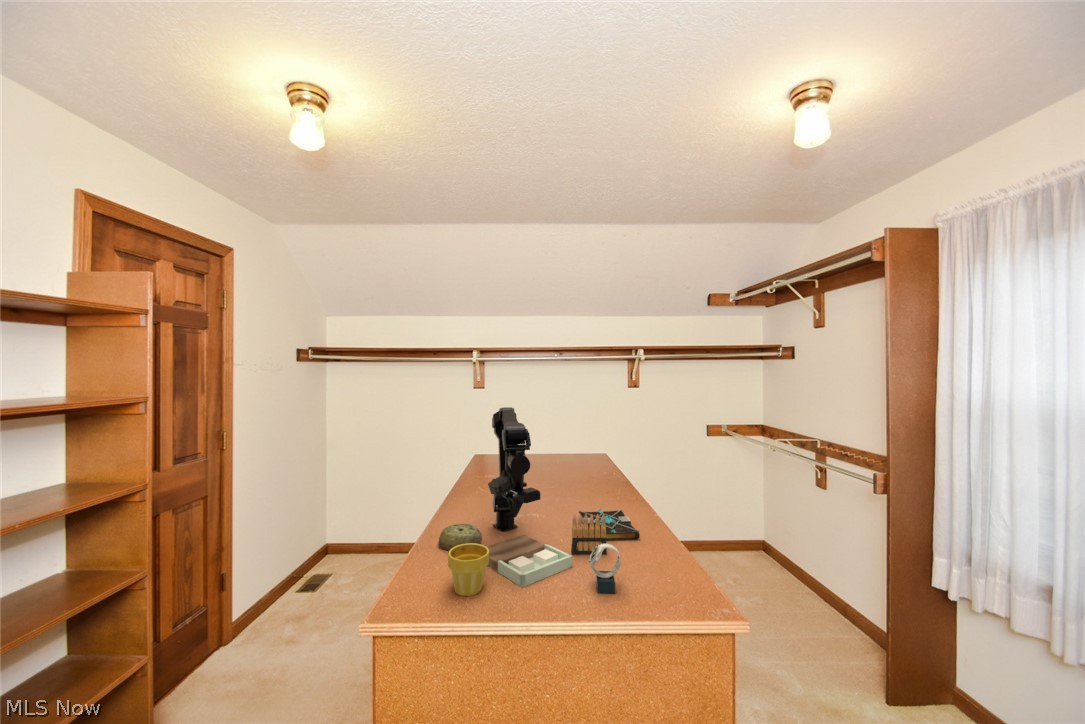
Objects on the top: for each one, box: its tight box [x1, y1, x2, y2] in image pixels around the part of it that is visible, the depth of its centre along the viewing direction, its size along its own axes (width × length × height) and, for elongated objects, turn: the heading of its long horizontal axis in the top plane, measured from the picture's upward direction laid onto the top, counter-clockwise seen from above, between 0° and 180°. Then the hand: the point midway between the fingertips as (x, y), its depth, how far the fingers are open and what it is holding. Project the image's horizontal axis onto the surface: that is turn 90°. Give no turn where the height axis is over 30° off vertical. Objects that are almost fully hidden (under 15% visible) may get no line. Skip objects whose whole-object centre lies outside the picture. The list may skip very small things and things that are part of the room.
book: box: [578, 508, 641, 541], centre depth 153 cm, size 22×17×5 cm
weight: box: [438, 523, 483, 551], centre depth 140 cm, size 14×14×5 cm
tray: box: [497, 543, 573, 588], centre depth 122 cm, size 11×18×3 cm, turn 130°
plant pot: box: [447, 543, 489, 597], centre depth 111 cm, size 10×10×10 cm
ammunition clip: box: [570, 513, 608, 556], centre depth 133 cm, size 11×2×12 cm, turn 91°
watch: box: [588, 543, 622, 595], centre depth 112 cm, size 6×8×11 cm
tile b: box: [509, 556, 534, 573], centre depth 121 cm, size 5×5×2 cm
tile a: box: [534, 549, 558, 565], centre depth 126 cm, size 5×5×2 cm
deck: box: [486, 534, 545, 573], centre depth 130 cm, size 11×18×2 cm, turn 130°
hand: (514, 517), depth 134 cm, fingers closed
